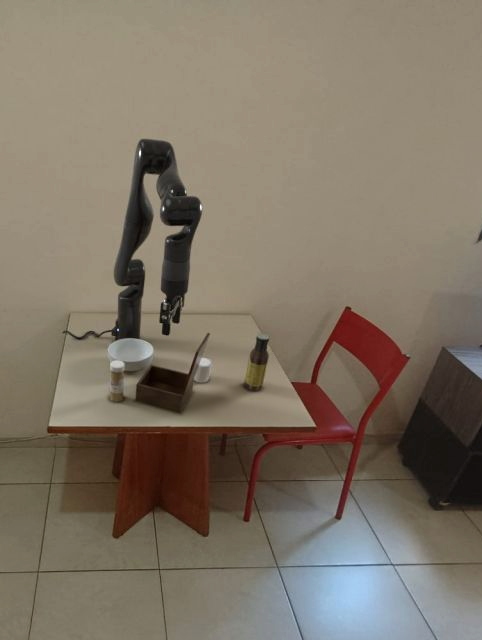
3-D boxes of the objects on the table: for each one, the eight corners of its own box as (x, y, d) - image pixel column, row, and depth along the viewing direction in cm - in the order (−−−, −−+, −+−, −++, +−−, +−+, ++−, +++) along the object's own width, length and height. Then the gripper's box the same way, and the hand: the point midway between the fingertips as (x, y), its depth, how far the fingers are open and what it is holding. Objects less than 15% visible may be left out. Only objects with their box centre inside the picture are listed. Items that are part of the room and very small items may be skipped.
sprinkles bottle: (107, 398, 146) (107, 363, 139) (116, 392, 149) (116, 358, 142) (117, 404, 144) (118, 369, 137) (126, 398, 147) (127, 363, 139)
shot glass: (211, 375, 160) (214, 358, 156) (208, 385, 155) (210, 368, 151) (193, 371, 162) (195, 355, 158) (188, 381, 156) (191, 364, 152)
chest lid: (195, 351, 127) (198, 352, 127) (207, 332, 137) (210, 333, 137) (181, 394, 137) (183, 395, 137) (193, 373, 147) (195, 374, 147)
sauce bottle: (252, 379, 158) (263, 329, 147) (265, 388, 154) (278, 337, 143) (239, 384, 156) (249, 334, 144) (252, 393, 151) (264, 342, 140)
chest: (135, 401, 146) (136, 384, 142) (150, 380, 156) (151, 364, 152) (180, 413, 141) (182, 396, 137) (192, 391, 151) (194, 375, 147)
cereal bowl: (120, 350, 173) (120, 333, 169) (159, 360, 167) (161, 344, 164) (99, 370, 161) (99, 353, 157) (140, 382, 155) (141, 365, 151)
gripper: (171, 265, 127) (167, 316, 136) (152, 280, 116) (149, 336, 125) (196, 269, 124) (190, 321, 133) (180, 285, 113) (174, 341, 122)
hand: (170, 328), depth 129 cm, fingers open, 8 cm apart
